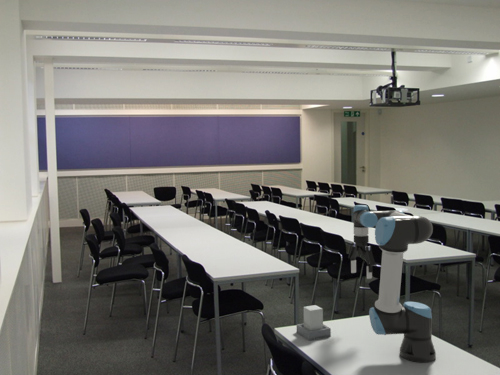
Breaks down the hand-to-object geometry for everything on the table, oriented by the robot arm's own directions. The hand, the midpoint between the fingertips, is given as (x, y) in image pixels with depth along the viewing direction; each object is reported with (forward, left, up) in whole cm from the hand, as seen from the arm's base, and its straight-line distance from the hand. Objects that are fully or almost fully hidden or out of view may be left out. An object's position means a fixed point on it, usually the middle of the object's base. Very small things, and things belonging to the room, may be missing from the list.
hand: (361, 275), depth 255 cm
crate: (-12, +26, -27) cm, 39 cm away
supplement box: (-12, +26, -26) cm, 39 cm away
